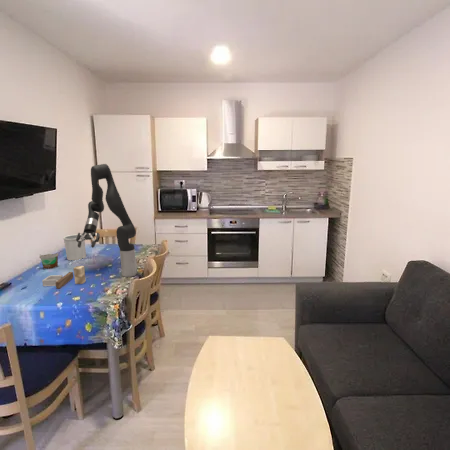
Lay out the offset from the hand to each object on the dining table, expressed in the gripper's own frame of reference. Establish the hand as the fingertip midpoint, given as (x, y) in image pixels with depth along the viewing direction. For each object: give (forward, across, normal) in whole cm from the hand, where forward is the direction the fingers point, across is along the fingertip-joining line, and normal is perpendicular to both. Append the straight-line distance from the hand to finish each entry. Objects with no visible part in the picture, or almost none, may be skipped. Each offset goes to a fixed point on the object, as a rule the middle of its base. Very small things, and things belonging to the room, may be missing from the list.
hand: (85, 247), depth 207 cm
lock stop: (+23, 0, +4) cm, 23 cm away
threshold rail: (+23, -9, +4) cm, 25 cm away
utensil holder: (-14, -26, +42) cm, 51 cm away
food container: (+2, -35, +26) cm, 43 cm away
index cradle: (+23, -17, +4) cm, 29 cm away
